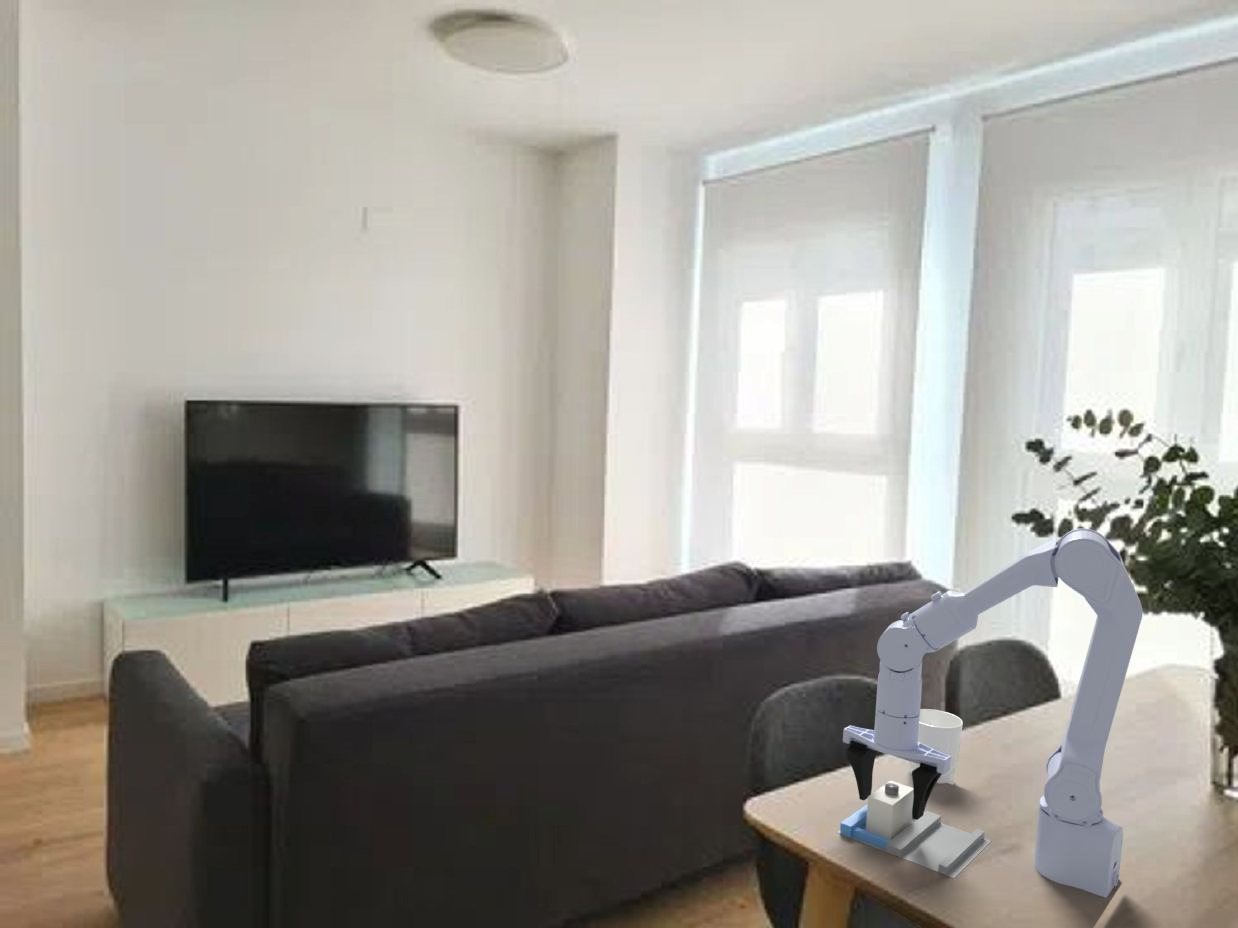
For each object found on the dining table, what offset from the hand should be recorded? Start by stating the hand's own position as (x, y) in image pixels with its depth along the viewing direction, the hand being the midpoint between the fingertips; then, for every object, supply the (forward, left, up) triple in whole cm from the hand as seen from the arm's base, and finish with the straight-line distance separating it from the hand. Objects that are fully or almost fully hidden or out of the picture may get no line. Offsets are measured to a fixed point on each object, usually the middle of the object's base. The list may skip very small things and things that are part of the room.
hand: (890, 806), depth 126 cm
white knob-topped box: (0, 0, -3) cm, 3 cm away
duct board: (-3, 0, -4) cm, 5 cm away
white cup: (+3, -22, -4) cm, 22 cm away
